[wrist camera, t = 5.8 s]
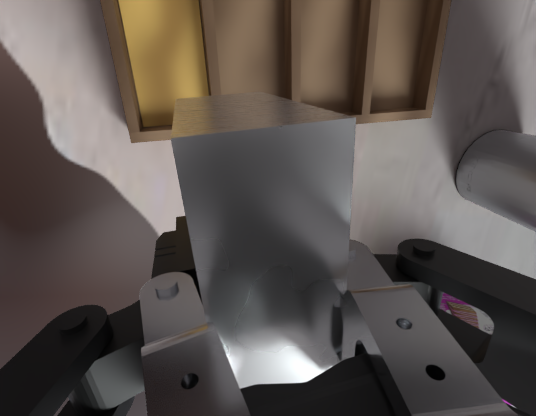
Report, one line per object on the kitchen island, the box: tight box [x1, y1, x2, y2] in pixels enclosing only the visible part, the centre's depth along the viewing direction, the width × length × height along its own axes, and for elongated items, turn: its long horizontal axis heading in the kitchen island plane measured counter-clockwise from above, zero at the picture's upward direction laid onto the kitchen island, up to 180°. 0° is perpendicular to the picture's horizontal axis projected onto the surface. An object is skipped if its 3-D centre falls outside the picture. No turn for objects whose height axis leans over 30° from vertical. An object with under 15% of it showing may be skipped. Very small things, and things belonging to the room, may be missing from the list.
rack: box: [100, 0, 451, 143], centre depth 27 cm, size 28×14×3 cm, turn 92°
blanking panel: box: [171, 92, 356, 389], centre depth 10 cm, size 3×10×7 cm, turn 4°
